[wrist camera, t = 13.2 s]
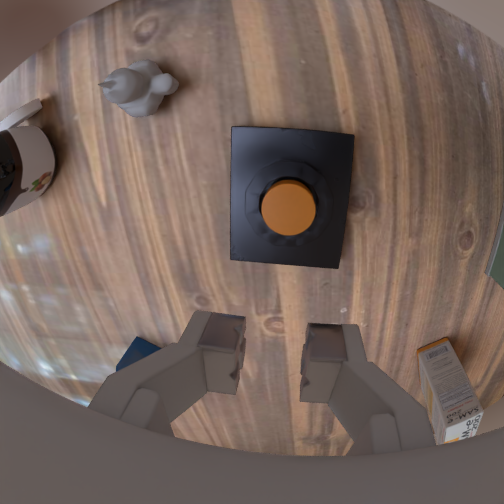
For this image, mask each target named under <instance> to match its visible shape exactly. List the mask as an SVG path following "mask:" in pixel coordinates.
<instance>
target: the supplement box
mask: <svg viewBox="0 0 504 504" xmlns="http://www.w3.org/2000/svg"><path fill="white" fill-rule="evenodd" d="M417 357H418V368H419V377H420V386H421V389H422V392H423V395H424V398H425V401H426V404H427V407H428V410H429V414H430V417H431V420H432V424H433V427H434V431H435V435H436V438H437V442H438V445H440V444H445V443H449V442H454V441H458V440H462V439H466V438H469V437H473V436H475V435H476V432H477V429H478V426H479V423H480V420H481V418H482V415H483V409H482V407H481V404H480V402H479V400H478V398H477V396H476V393H475V391H474V389H473V387H472V385H471V383H470V381H469V378H468V376H467V374H466V372H465V370H464V368H463V366H462V364H461V362H460V360H459V358H458V357H457V355H456V353H455V351H454V349H453V347H452V345H451V343H450V342H449V340H448V338H447V337H446V338H443V339H441V340H439V341H436V342H434V343H432V344H429V345H427V346H425V347H422V348H420V349H418V350H417Z"/></svg>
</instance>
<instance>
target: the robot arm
mask: <svg viewBox="0 0 504 504" xmlns="http://www.w3.org/2000/svg"><path fill="white" fill-rule="evenodd" d="M245 330H246V317H244V316H236V315H229V314H222V313H215V312H213V313H212V312H208V311H200V310H197V311H195V312H194V313H193V315H192V317H191V319H190V321H189V323H188V325H187V327H186V329H185V331H184V332H183V334H182V336H181V338H180V340H179V342H178V343H172V344H170V345H168V346H166V347H164V348H162V349H160V350H158V351H156V352H154V353H152V354H151V355H149V356H147V357H145V358H143V359H141V360H139V361H137V362H135V363H133V364H131V365H129V366H127V367H125V368H123V369H121V370H119V371H117V372H115V373H113V374H111V375H109V376H108V377H107V378H106V380H105V381H104V383H103V384H102V386H101V387H100V389H99V390H98V392H97V393H96V395H95V396H94V398H93V400H92V401H91V403H90V404H89V406H88V407H85V406H82V405H80V404H78V403H76V402H74V401H71V400H69V399H67V398H65V397H63V396H61V395H59V394H57V393H55V392H53V391H51V390H49V389H47V388H45V387H43V386H41V385H39V384H38V383H36V382H34V381H32V380H30V379H29V378H27V377H25V376H24V375H22V374H20V373H19V372H17V371H15V370H14V369H12V368H10V367H9V366H7V365H6V364H4V363H3V362H1V361H0V504H504V427H501V428H499V429H496V430H493V431H490V432H486V433H483V434H480V435H476V436H473V437H469V438H466V439H462V440H458V441H454V442H449V443H445V444H440V445H436V443H435V439H434V436H433V432H432V428H431V424H430V421H429V417H428V414H427V411H426V409H425V408H424V407H423V406H422V405H421V404H420V403H419V402H417V401H416V400H415V399H414V398H413V397H412V396H411V395H409V394H408V393H407V392H406V391H405V390H404V389H403V388H401V387H400V386H399V385H398V384H397V383H396V382H395V381H393V380H392V379H391V378H390V377H389V376H388V375H387V374H385V373H384V372H383V371H382V370H381V369H380V368H379V367H377V366H376V365H375V364H374V363H373V362H367V358H366V354H365V350H364V345H363V341H362V337H361V333H360V330H359V326H358V325H357V324H341V325H338V324H320V323H308V324H307V328H306V338H305V344H303V351H302V358H301V372H300V374H301V375H302V378H301V383H300V402H312V403H328V406H329V407H330V408H331V410H332V411H333V413H334V414H335V416H336V417H337V418H338V420H339V421H340V423H341V424H342V425H343V427H344V428H345V430H346V431H347V432H348V434H349V435H350V437H351V438H352V439H353V441H354V444H353V445H352V447H351V448H350V450H349V451H348V453H347V454H346V456H300V455H282V454H270V453H260V452H252V451H244V450H237V449H230V448H224V447H219V446H213V445H208V444H203V443H198V442H193V441H189V440H185V439H181V438H177V437H175V436H174V433H173V430H172V428H171V425H170V423H171V422H172V421H173V420H175V419H176V418H177V417H178V416H180V415H181V414H182V413H183V412H184V411H186V410H187V409H188V408H189V407H191V406H192V405H193V404H194V403H195V402H197V401H198V400H199V399H200V398H201V397H203V396H204V395H205V394H206V393H207V391H210V392H216V393H224V394H232V395H236V391H237V387H238V383H239V379H240V369H241V368H242V367H243V362H244V356H245V347H246V339H245V337H244V334H245Z"/></svg>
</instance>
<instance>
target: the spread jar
mask: <svg viewBox="0 0 504 504" xmlns="http://www.w3.org/2000/svg"><path fill="white" fill-rule="evenodd" d="M41 109H42V105H41V102H40V100H39V99H35V100H33V101H31V102H29V103H27V104H25V105H24V106H22V107H20V108H19V109H17V110H16V111H14V112H13V113H11V114H10V115H9V116H7V117H6V118H5V119H4V120H2V121H1V122H0V217H1V216H4V215H6V214H9V213H11V212H13V211H15V210H17V209H19V208H21V207H24V206H26V205H27V204H29V203H31V202H32V201H34V200H35V199H36V198H38V197H39V196H40V195H41V194H42V193H43V192H44V191H45V190H46V189H47V188H48V187H49V186H50V185H51V183H52V181H53V179H54V177H55V174H56V169H57V158H56V153H55V150H54V147H53V144H52V142H51V141H50V139H49V137H48V136H47V135H46V134H45V133H44V132H43V131H42V130H41V129H40V128H38V127H36V126H21V127H17V126H18V125H20V124H21V123H22V122H24V121H25V120H27V119H28V118H30V117H31V116H33V115H34V114H35V113H37V112H38V111H39V110H41Z"/></svg>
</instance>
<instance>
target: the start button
mask: <svg viewBox="0 0 504 504" xmlns="http://www.w3.org/2000/svg"><path fill="white" fill-rule="evenodd" d="M261 212H262V216H263V219H264V221H265V223H266V224H267V225H268V227H269V228H270V229H272V230H273V231H275V232H276V233H279V234H282V235H296V234H299V233H301V232H303V231H305V230H306V229H307V228H308V227H309V226H310V225H311V224H312V222H313V220H314V217H315V213H316V207H315V202H314V198H313V195H312V193H311V191H310V190H309V189H308V188H307V187H306V186H305V185H304V184H302V183H301V182H298V181H295V180H282V181H279V182H277V183H275V184H273V185H272V186H271V187H270V188H269V189H268V191H267V192H266V194H265V197H264V199H263V201H262V207H261Z"/></svg>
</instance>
